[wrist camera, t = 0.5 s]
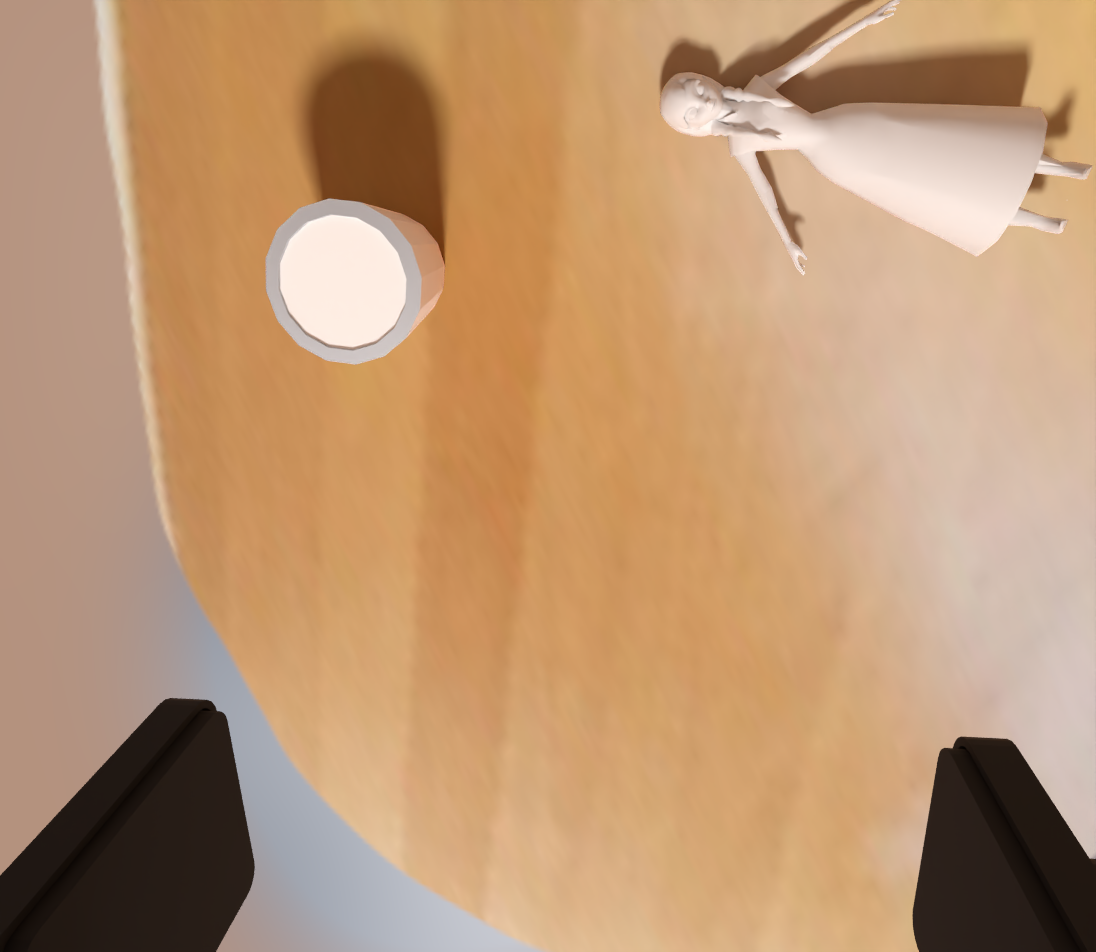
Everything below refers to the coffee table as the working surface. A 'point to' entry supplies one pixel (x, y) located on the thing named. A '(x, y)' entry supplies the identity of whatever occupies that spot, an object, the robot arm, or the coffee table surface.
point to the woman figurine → (883, 149)
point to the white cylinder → (352, 278)
